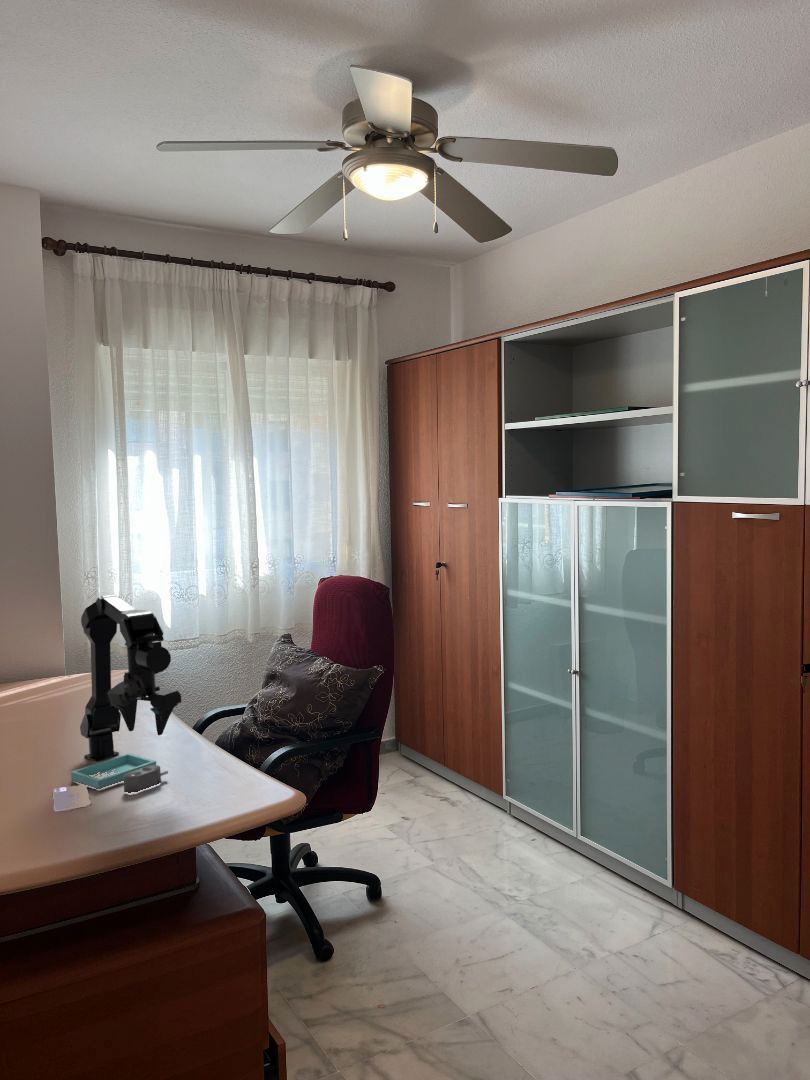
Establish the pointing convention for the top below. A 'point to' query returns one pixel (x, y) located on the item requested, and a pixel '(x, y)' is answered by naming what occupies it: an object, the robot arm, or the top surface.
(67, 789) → the mobile phone
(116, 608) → the robot arm
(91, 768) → the desk tray
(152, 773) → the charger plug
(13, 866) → the top surface
